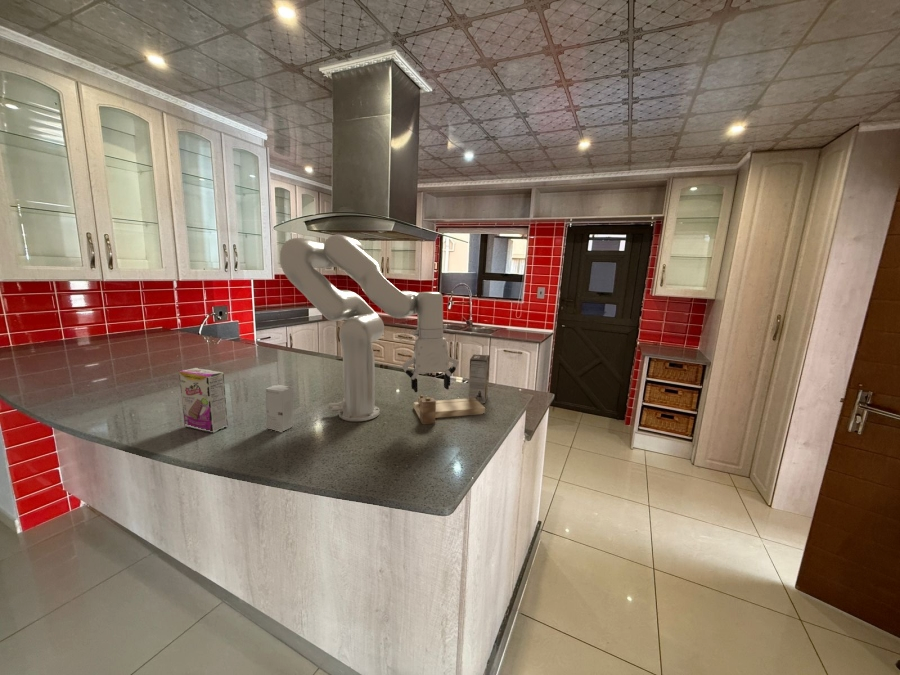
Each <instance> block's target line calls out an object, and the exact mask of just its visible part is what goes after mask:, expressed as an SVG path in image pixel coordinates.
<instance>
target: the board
mask: <svg viewBox="0 0 900 675" xmlns="http://www.w3.org/2000/svg"><path fill="white" fill-rule="evenodd" d="M435 401H436V415H435V419H437V418H451V417H461V416H463V417H464V416H472V415H473V416H474V415H484V414H483V413H485V414H486V407H485V406H484V405H483V403H480V402H478V401H477V400H476V399H475V398H455V399H444V400H443V399H442V400H439V399H438V400H435ZM413 408H414V411H415V413H416V414H417V417H418V419H419V420H420V405H419V403H418V401H414V402H413Z"/></svg>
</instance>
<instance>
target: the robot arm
mask: <svg viewBox="0 0 900 675" xmlns="http://www.w3.org/2000/svg"><path fill="white" fill-rule="evenodd" d="M279 262H280V266H281V269H282V271H283V273H284V276H285V277H286V278H287V280H288V281H289V282H290V283H291V284H292V285H294V287H295V288H296V289H297V290H298V291H299V292H300V293H301V294H302V295H304V297H305V298H306V299H307V301H308V302H310V303H311V304H312V305H313V306H314V308H316V310H317V311H318V312H319V313H320V314H321V315H322V316H324V318H325V319H326V320H328V321H331V322H340V321H343V322H342V324H341V325H340V328H339V341H340V346H341V351H342V352H341V353H342V375H343V377H342V379H343V382H342V383H343V398H342V401H339V402H329V403H328V410H332V412H338V416H339V418H340V419H342V420H343V421H346V422H347V421H348V422H366V421H371V420H373V419H375V418H377V417H378V416H379V415H380V411H381V410H380V408H379V406H377V405H375V404H376V402H375V397H376V396H375V395H376V394H375V393H376V392H375V391H376V390H375V387H376V385H375V378H376V377H375V374H376V373H375V371H376V370H375V369H376V368H375V354H374V350H373V344H372V343H374V342H376V341H378V340H379V339H381V338H382V336H383V335H384V332H385V325H384V324H385V323H384V321H383V319H382V318H381V317H380V316H379V314H378V313H377V312H376V311H375V310H374V309H373V308H372V307H371V306H370V305H369V304H368V303H367V302H366V301H365V300H364V299H363V298H362V297H361V296H360V295H359V294H357V293H356V292H354V291H351V290H348V289H338V288H337V287H336V286H335V285H334V284H333V283H331V281H329V279H328V278H327V277H326V276H325V275H323V274H322V273H321V272H319V270H317V269H327V268H329V269H330V268H338V269H340V270H341V271H343V272H344V273H345V274H346V275H347V276H349V277H350V278H351V279H352V280H354V281H355V282H356V283H357V285H359V287H360V288H361V289H362V291H363V293H364V294H365V295H366V296H367V298H368V299H369V300H370V301H371V302H372V303H373V304H375V305H376V306H377V307H378V308H379V309H380V310H382V311H383V312H384V313H386V314H387V315H388V316H390V317H392V318H395V319H404V318H406V317H407V318H408V317H411V316H416V315H417V328H416V329H415V330H413V331H412V335H413V336H416V337H417V338H415V341H414V348H413V357H412V358H411V359H409V360H407V361H405V362H404V363H402V364H401V368H402V369H403V370H404V372H405V374H406V375H407V376H408V377H410V379H411V380H410V383H411V390H413V392H414V393H418V390H419V388H418V378H417V377H418V376H419V375H420V374H434V373H443V372H444V374H443V388H445V390H450V386H451V377H452V374H453V373H455V371H456V370H457V368H458V366H459V363H460V361H458V360H457V359H455V358H452V357H450V356H449V349H448V343H447V338H446V337H444V298H443V294H442V293H441V292H438V291H421V292H419V291H417V292H416V291H410V290H402V291H401V290H400V289H398V288H397V287H396V286H395V285H394V284H392V283H391V282H390V281H389V280H387V278H386V277H384V275H383V274H382V272H381V270H380V264H379V263H378V261H376V260H375V259H374V258H372V257H371V256H370V255H369V254H368V253H366V252H365V250H364V247H363V245H362V243H361V242H360V241H358V240H357V239H355V238H353V237H350V236H347V235H342V234H333V235H330V236H329V237H328V238H326V240H325V241H317V240H313V239H308V238H302V237H296V238H295V237H294V238H291V239H288V240H286V241H285V242H284V243H283V244H282V246H281V248H280V251H279ZM450 363H451V366H450ZM412 365H413V370H412V371H410V369H409V367H410V366H412Z"/></svg>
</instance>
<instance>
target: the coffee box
mask: <svg viewBox="0 0 900 675" xmlns="http://www.w3.org/2000/svg"><path fill="white" fill-rule="evenodd" d="M489 371H490V354H489V355H488V354H486V355H485V354H472V356H471V357H470V359H469V375H468V379H469V380H468V398H475V399H476V400H477V401H478V402H480V403H481V404H483V403H485V404H486V403H487V402H486V401H487V399H488V395H489V376H490V375H489V374H490V372H489Z"/></svg>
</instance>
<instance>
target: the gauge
mask: <svg viewBox="0 0 900 675" xmlns="http://www.w3.org/2000/svg"><path fill="white" fill-rule="evenodd" d="M417 399H418V401H417V402H418V403H419V405H420V419H419V420H420V422H421V424H422V425H430V424H436V418H435V415H436V401H437V400H436V399H435V398H434V397H430V396H427V397H424V395H423V394H420V395H419V396H418V397H417Z"/></svg>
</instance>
